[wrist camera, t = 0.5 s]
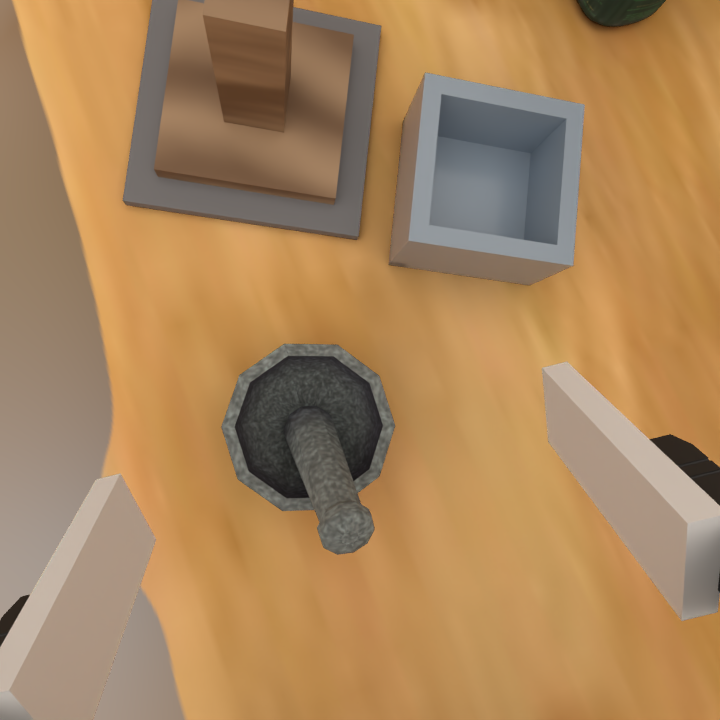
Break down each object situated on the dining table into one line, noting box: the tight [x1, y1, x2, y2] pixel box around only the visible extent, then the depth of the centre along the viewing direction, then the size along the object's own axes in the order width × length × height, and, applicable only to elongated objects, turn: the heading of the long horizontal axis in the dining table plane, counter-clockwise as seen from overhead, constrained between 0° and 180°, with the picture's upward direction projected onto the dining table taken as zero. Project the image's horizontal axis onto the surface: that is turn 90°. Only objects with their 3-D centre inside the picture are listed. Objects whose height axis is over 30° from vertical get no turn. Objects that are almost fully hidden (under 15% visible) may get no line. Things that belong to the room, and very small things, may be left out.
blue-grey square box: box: [389, 73, 584, 285], centre depth 37 cm, size 11×11×6 cm
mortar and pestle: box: [222, 344, 395, 554], centre depth 31 cm, size 11×9×12 cm
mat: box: [123, 0, 381, 240], centre depth 37 cm, size 16×16×1 cm
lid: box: [154, 0, 354, 205], centre depth 31 cm, size 12×12×11 cm
